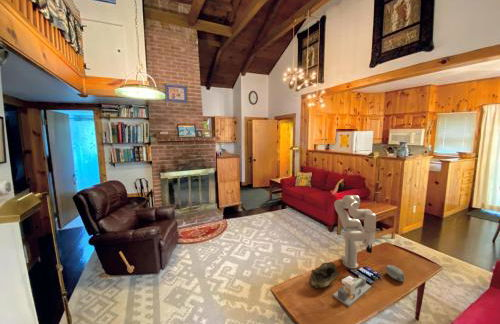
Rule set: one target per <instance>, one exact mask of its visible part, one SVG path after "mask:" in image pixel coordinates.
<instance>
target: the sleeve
mask: <svg viewBox="0 0 500 324" xmlns="http://www.w3.org/2000/svg"><path fill="white" fill-rule="evenodd" d="M352 280H353V279H350V278H347V279H346V280H345V281H344V290H345V289H346V288H348V289H349V290H350V293H348V294H349V295H352V294H353V293H355V282H354V281H352Z"/></svg>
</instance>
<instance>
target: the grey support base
mask: <svg viewBox="0 0 500 324" xmlns="http://www.w3.org/2000/svg"><path fill="white" fill-rule="evenodd" d="M360 278H361V279H363V282H361V283H360V284H359V285H358V286H356V287H355V293H353V294H352V295H349V294H348V293H347V294H346V291H345V290H344V286H345V285H344V286H343V285H341V287H340V288H338V290H337V291H336V292H334V293H333V295H332V296H333V297H334V298H335V299H336V300H338V301H339V302H341V303H342V304H344V305H345V306H347V307H348V308H350V307H351V306H353V304H355V303H356V302H358V300H359V299H361V298H362V297H363V296H364V295H365V294H367V292H369V291H370V290H372V285H370V284H368V283H367V278H366V277H365V276H362V275H358V278H357V277H354V278H353V279H351V280H352V281H354V282H356V281H357V280H358V279H360Z"/></svg>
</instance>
